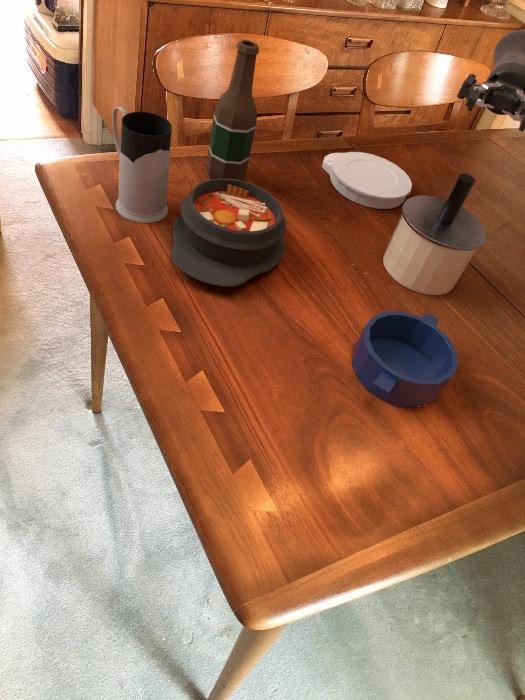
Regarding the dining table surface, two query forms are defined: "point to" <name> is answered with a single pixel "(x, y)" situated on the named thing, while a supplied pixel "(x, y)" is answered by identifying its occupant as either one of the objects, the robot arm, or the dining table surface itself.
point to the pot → (423, 262)
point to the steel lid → (446, 218)
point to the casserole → (228, 232)
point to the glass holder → (143, 165)
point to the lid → (368, 179)
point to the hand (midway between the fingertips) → (498, 115)
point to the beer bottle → (234, 119)
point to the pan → (404, 358)
